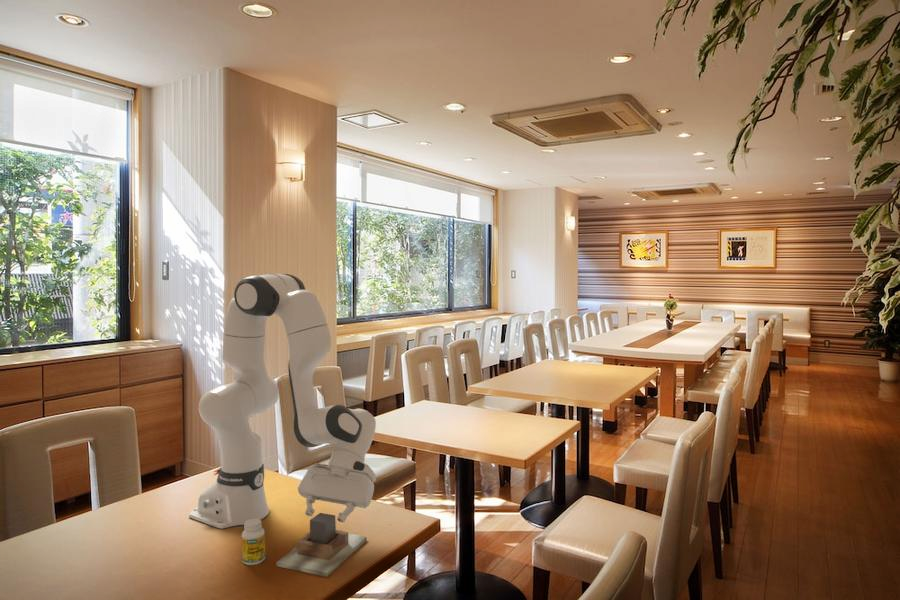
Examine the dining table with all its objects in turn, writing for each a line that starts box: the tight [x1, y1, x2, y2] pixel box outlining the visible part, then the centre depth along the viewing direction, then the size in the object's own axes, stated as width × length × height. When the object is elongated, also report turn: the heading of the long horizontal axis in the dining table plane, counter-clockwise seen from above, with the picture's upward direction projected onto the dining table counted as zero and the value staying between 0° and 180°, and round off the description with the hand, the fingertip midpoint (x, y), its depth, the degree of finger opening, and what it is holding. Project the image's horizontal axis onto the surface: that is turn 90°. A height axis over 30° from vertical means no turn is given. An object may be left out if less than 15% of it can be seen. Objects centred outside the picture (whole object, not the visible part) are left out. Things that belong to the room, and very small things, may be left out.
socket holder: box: [275, 529, 367, 578], centre depth 145 cm, size 14×19×4 cm
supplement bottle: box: [241, 519, 266, 566], centre depth 141 cm, size 5×5×10 cm
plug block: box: [309, 512, 337, 544], centre depth 145 cm, size 4×4×8 cm
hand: (324, 518), depth 146 cm, fingers open, 8 cm apart
